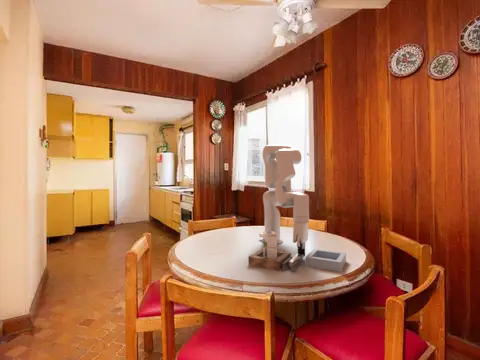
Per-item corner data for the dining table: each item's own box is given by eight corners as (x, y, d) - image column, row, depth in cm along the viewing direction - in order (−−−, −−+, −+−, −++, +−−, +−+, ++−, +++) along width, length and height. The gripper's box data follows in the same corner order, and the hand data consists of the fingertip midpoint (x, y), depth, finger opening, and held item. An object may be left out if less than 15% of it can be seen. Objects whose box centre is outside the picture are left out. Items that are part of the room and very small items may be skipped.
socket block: (248, 265, 119) (248, 256, 119) (262, 256, 132) (262, 248, 132) (292, 273, 109) (292, 264, 109) (303, 263, 121) (303, 254, 121)
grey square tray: (305, 265, 118) (305, 256, 118) (314, 256, 131) (314, 248, 131) (340, 271, 110) (340, 262, 110) (346, 261, 123) (346, 253, 123)
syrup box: (262, 261, 125) (262, 231, 124) (275, 260, 125) (274, 230, 125) (265, 265, 119) (264, 233, 119) (277, 264, 119) (277, 233, 119)
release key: (287, 267, 115) (287, 261, 115) (296, 259, 126) (296, 253, 126) (294, 268, 113) (294, 262, 113) (303, 260, 125) (303, 254, 125)
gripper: (298, 216, 135) (298, 251, 135) (288, 220, 122) (288, 259, 122) (312, 217, 131) (313, 253, 131) (304, 222, 118) (304, 262, 119)
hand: (301, 256), depth 127 cm, fingers closed
